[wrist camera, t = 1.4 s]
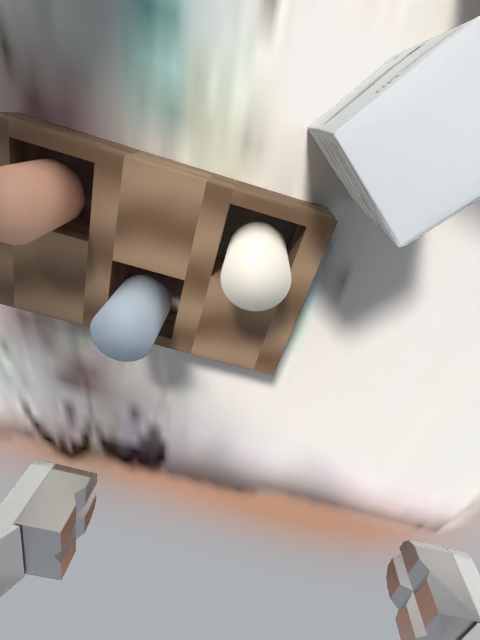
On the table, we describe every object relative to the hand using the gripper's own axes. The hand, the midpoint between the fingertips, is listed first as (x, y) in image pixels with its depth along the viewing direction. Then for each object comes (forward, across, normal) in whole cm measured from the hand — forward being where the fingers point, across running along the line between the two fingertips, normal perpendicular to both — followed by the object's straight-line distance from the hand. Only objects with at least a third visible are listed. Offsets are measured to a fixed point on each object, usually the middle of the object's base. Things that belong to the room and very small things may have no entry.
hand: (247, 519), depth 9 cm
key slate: (+22, +9, +5) cm, 25 cm away
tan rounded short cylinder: (+22, +17, -2) cm, 27 cm away
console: (+26, +9, +2) cm, 28 cm away
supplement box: (+26, -6, -11) cm, 29 cm away
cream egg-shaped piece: (+22, +1, -1) cm, 22 cm away
